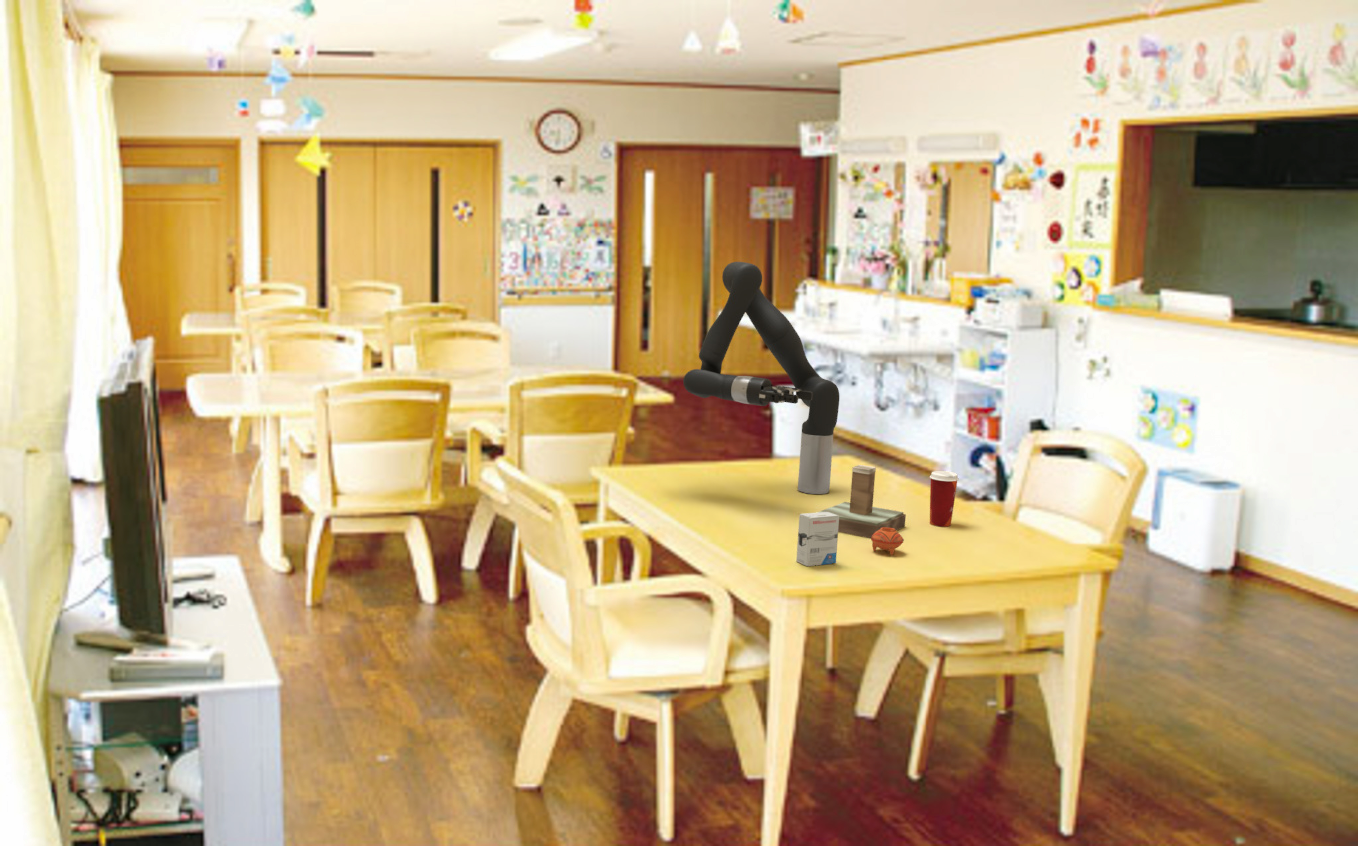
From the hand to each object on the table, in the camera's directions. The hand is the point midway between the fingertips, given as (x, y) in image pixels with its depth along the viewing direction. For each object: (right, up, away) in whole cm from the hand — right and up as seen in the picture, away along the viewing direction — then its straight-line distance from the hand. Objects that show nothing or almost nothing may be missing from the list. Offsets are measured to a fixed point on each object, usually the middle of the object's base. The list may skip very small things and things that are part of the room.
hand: (804, 397), depth 372 cm
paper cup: (+37, -34, +3) cm, 50 cm away
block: (+14, -30, -6) cm, 34 cm away
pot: (+17, -39, -29) cm, 52 cm away
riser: (+14, -34, -5) cm, 37 cm away
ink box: (-1, -40, -42) cm, 58 cm away
